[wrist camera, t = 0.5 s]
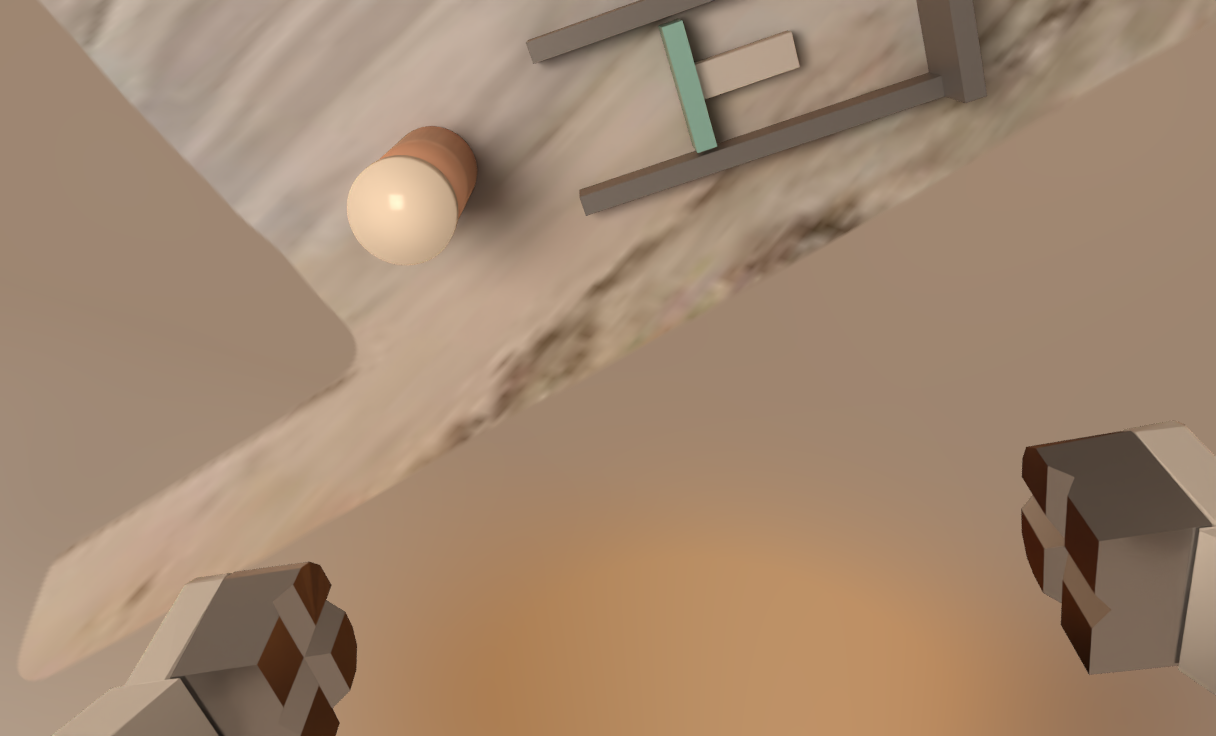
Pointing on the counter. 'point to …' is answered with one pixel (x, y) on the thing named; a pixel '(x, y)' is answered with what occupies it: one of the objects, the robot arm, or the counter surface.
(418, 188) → the terracotta jar
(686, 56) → the pusher plate
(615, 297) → the counter surface
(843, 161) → the counter surface
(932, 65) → the pusher lane
